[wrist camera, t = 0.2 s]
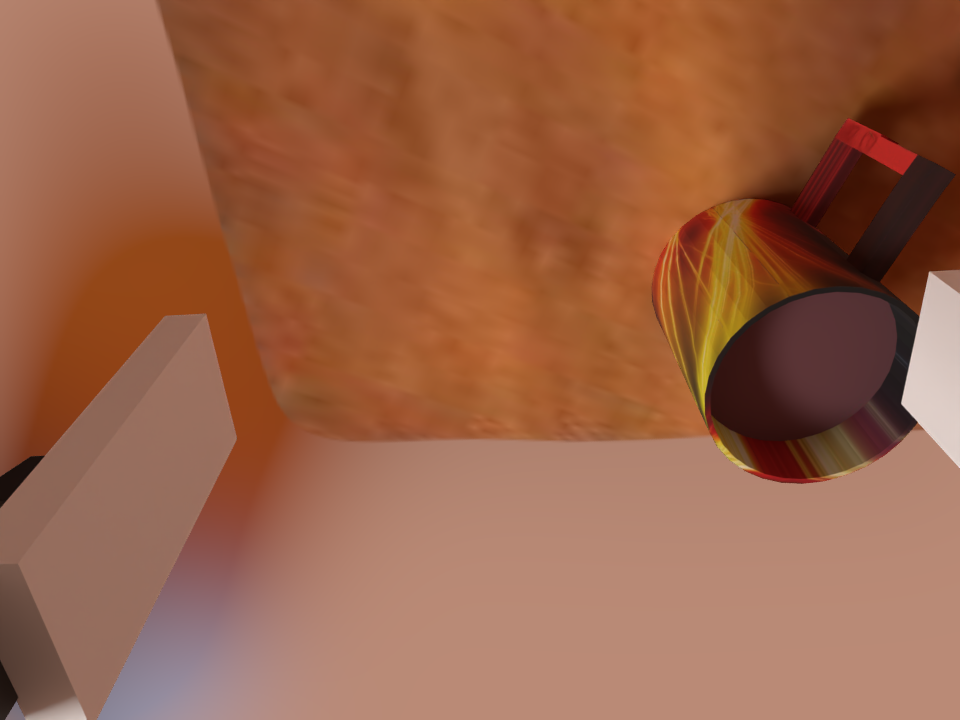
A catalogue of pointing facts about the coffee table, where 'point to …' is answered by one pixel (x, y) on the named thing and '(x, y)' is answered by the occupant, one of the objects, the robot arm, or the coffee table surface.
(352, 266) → the coffee table surface
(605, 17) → the coffee table surface
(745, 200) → the mug
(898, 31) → the coffee table surface
